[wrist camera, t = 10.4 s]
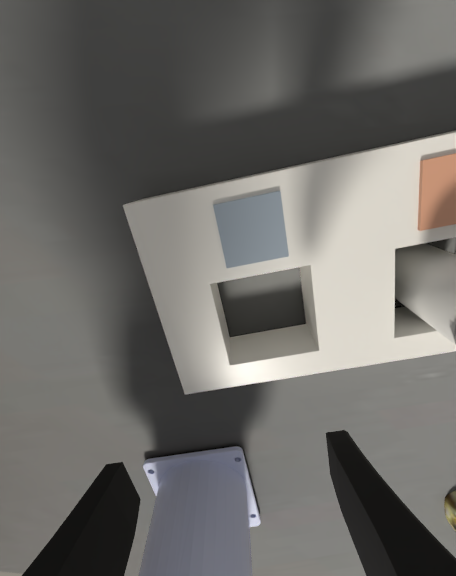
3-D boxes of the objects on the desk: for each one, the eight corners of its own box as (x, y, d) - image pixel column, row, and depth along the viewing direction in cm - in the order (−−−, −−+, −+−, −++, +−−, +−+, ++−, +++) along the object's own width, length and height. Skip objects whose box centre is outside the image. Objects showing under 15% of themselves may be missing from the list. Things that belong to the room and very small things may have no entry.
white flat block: (499, 311, 18) (551, 338, 15) (191, 363, 20) (184, 397, 17) (530, 114, 14) (610, 98, 11) (141, 199, 16) (121, 205, 13)
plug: (440, 294, 18) (561, 365, 11) (377, 304, 18) (460, 379, 12) (446, 234, 16) (587, 275, 10) (378, 246, 17) (472, 294, 10)
